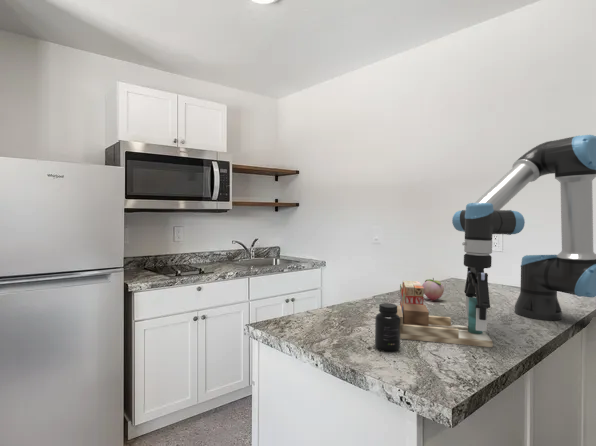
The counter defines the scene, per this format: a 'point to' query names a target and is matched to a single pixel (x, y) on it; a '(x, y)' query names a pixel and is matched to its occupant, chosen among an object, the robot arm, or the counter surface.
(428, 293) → the decorative fruit
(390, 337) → the supplement bottle
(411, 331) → the lane board
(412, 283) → the stack of blocks
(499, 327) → the counter surface
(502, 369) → the counter surface
